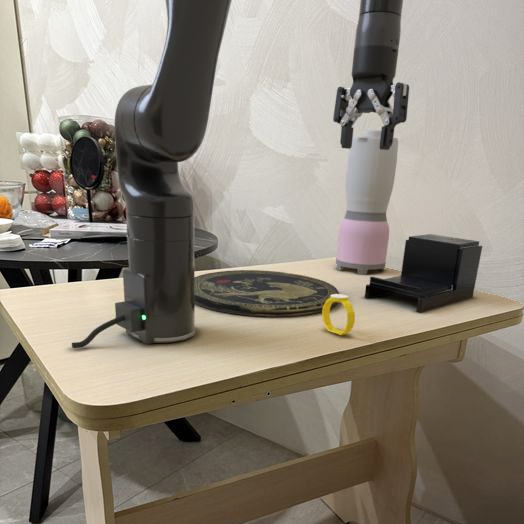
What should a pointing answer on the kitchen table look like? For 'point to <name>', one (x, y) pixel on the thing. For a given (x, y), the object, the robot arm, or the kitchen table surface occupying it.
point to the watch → (348, 308)
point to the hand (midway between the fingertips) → (364, 149)
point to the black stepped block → (433, 271)
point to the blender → (367, 203)
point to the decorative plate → (262, 293)
